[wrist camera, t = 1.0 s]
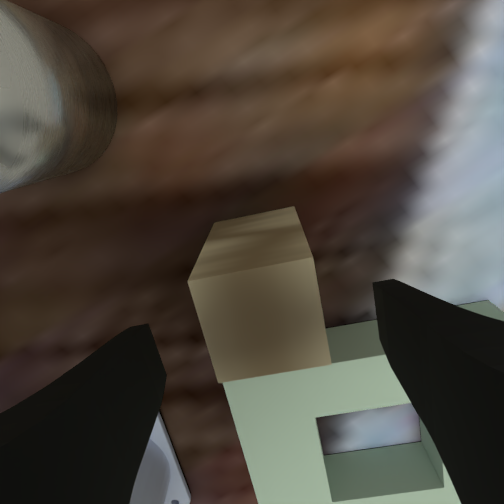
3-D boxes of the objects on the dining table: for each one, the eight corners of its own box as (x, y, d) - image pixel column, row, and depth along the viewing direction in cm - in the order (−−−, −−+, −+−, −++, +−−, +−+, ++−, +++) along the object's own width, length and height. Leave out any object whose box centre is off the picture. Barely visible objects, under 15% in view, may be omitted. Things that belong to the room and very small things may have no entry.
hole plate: (270, 497, 25) (271, 547, 22) (227, 345, 21) (222, 381, 18) (489, 468, 23) (521, 517, 20) (488, 300, 19) (527, 331, 16)
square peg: (232, 294, 20) (218, 383, 13) (214, 222, 18) (187, 281, 12) (307, 280, 19) (331, 364, 13) (294, 206, 18) (313, 257, 11)
